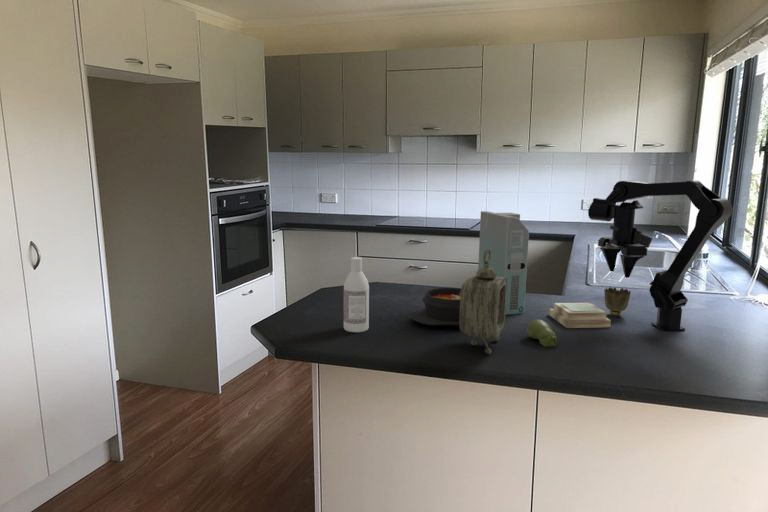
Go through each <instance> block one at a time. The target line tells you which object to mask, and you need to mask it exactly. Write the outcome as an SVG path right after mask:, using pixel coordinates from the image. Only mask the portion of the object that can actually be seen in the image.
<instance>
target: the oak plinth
mask: <svg viewBox="0 0 768 512" xmlns="http://www.w3.org/2000/svg"><path fill="white" fill-rule="evenodd" d="M548 316H550V317H551V318H552V319H554V320H555V321H556V322H558V323H559V324H561V325H562V326H563V327H564V328H566V329H575V328H577V329H579V328H582V329H584V328H586V329H589V328H591V329H592V328H611V325H612V324H611V323H612V320H611V319H610V318H608V317H607V312H606V311H605V310H603V309H601V308H599V307H597V306H596V305H594V304H593V303H590V302H554V303H553V308H549V309H548Z"/></svg>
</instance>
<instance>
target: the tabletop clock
mask: <svg viewBox="0 0 768 512" xmlns="http://www.w3.org/2000/svg"><path fill="white" fill-rule="evenodd" d="M487 253H489V259H488V261H487V260H486V261H485V259H486V255H487ZM490 258H491V252H490V250H489V249H487V250H486V251H485V253H484V259H483V264H484V266H485V267H483V268H480V269H479V270H478V269H477V271H476V273H475V275H474V276H471V277H469V278H468V279H466V280H465V282H463V283H462V286H461V288H460V289H461V296H460V319H459V326H458V327H459V331H461V333H463V334H464V335H465V336H467V337H474V338H473V339H471V341H470V345H472V346H476V345H477V344H478V341H477V338H481V339H482V340H483V343H484V345H485V349H484V353H485V354H486V355H491V353H492V349H491V347H489V343H488V339H490V340H491V339H493V341H495V342H499V340H500V336H501V334H502V333H503V331H504V327H505V324H506V300H507V278H506V277H497V276H496V273H495V271H494V270H493V269H492V268H489V263H490Z"/></svg>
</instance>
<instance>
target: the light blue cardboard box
mask: <svg viewBox="0 0 768 512" xmlns="http://www.w3.org/2000/svg"><path fill="white" fill-rule="evenodd" d="M479 221H480V225H479V240H478V241H479V244H478V246H479V247H478V265H477V266H478V268H477V271H478V270H479V269H480V268H483V267H485V266H484V264H483V259H484V253H485V251H486V250H487V249H489V250H490V252H491V258H490V263H489V268H492V269H493V270H494V271H495V273H496V276H497V277H506V278H507V300H506V315H507V316H510V315H519V314H520V315H521V314H524V312H525V306H526V305H525V304H526V303H525V302H526V291H527V288H526V287H527V286H526V285H527V271H528V254H529V240H530V231H529V229H528V228H527V226H526V225H525V224H524V223H523V222H522V220H521V214H519V213H516V212H492V211H486V210H481V211H480V218H479ZM488 259H489V253H487V255H486V259H485V261H486V260H487V261H488ZM506 315H505V316H506Z"/></svg>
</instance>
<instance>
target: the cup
mask: <svg viewBox="0 0 768 512" xmlns="http://www.w3.org/2000/svg"><path fill="white" fill-rule="evenodd" d="M603 291H604V305H605V307H606V309H608V310H609V311H608V314H609V315H610V316H612V317H621V316H622V314H623V313H622V312H624V311H625V310H626V309H627V308H628V304H629V301H630V297H631V290H628V289H627V288H626V289H624V288H622V287H621V288H620V289H617V288H616V287H613V288H612V287H606V288H604V290H603Z"/></svg>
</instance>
